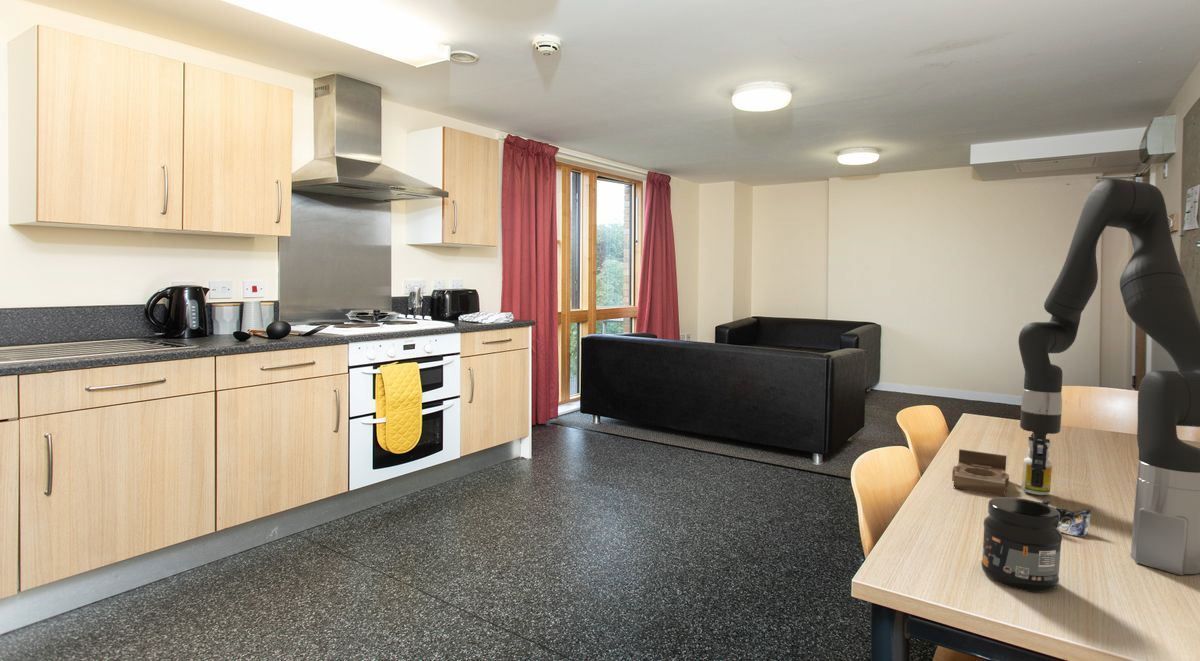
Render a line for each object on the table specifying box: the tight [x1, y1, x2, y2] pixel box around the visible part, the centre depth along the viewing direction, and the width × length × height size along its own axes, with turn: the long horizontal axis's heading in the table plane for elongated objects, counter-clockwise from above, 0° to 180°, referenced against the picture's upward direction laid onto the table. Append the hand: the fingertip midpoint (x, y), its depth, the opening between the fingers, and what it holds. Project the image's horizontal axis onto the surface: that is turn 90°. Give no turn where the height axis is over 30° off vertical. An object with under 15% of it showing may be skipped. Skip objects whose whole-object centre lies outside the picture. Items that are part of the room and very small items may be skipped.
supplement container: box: [980, 496, 1063, 593], centre depth 101 cm, size 10×10×12 cm
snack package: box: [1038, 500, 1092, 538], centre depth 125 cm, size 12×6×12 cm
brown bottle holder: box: [951, 448, 1010, 497], centre depth 151 cm, size 15×11×6 cm
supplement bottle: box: [1021, 448, 1053, 496], centre depth 144 cm, size 5×5×10 cm
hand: (1036, 482), depth 144 cm, fingers closed on supplement bottle, 5 cm apart
